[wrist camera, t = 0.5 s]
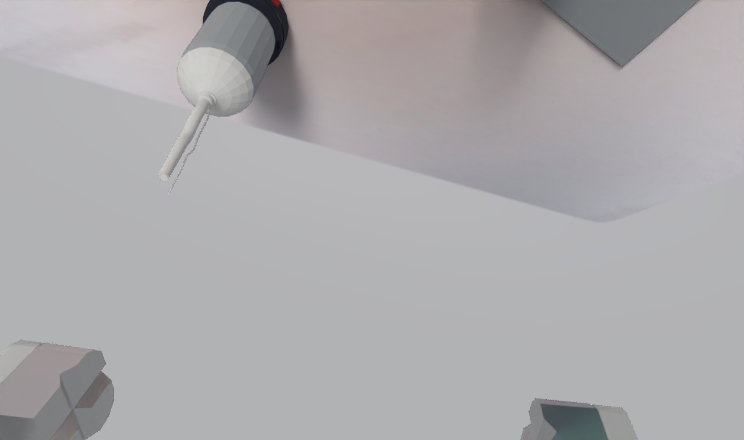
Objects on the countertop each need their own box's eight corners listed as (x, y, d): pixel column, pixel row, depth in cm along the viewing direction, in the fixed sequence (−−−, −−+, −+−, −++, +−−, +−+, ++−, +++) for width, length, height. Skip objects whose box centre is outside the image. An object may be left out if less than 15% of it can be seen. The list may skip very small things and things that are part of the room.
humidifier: (287, -15, 49) (214, 137, 31) (289, 62, 55) (228, 226, 37) (204, -26, 49) (84, 121, 31) (214, 53, 55) (119, 214, 37)
